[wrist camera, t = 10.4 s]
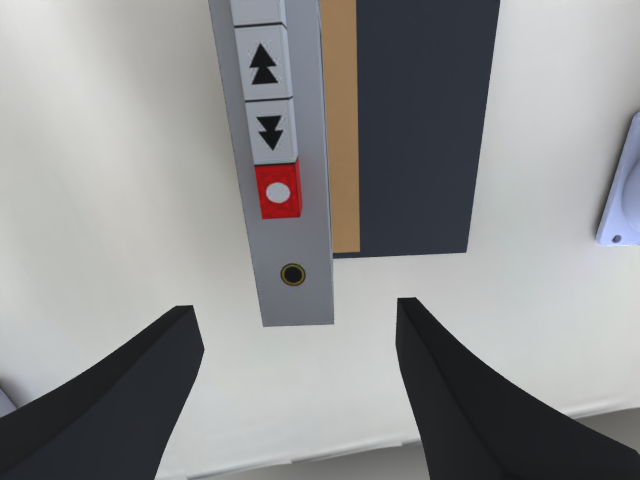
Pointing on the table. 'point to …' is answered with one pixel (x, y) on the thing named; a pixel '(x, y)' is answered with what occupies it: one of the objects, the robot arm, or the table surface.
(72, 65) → the table surface
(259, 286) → the cassette player
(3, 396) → the game console
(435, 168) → the desk mat
